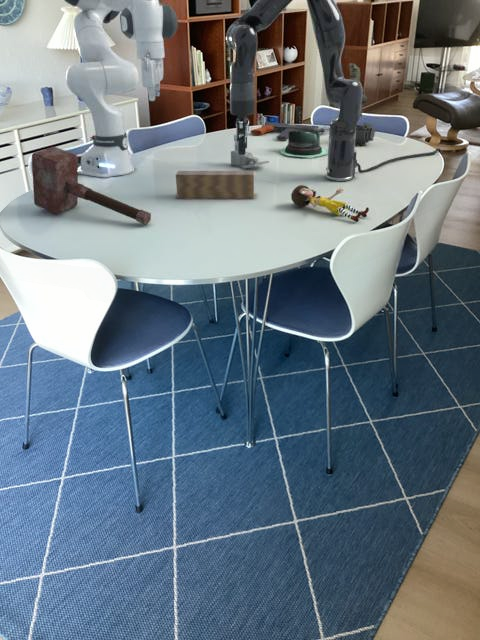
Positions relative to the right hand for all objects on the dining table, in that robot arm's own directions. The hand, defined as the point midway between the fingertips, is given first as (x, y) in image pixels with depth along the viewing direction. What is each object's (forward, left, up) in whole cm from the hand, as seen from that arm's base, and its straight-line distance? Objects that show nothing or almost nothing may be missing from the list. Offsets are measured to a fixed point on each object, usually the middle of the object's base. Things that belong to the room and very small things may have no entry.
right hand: (242, 151), depth 178 cm
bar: (+8, -5, -15) cm, 18 cm away
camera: (-19, -31, -15) cm, 40 cm away
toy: (-79, -38, -15) cm, 88 cm away
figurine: (-14, +27, -15) cm, 34 cm away
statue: (-95, -59, -15) cm, 113 cm away
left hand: (+18, -27, +14) cm, 35 cm away
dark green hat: (-51, -38, -15) cm, 65 cm away
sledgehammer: (+48, -8, -15) cm, 51 cm away
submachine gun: (-63, -70, -15) cm, 95 cm away
